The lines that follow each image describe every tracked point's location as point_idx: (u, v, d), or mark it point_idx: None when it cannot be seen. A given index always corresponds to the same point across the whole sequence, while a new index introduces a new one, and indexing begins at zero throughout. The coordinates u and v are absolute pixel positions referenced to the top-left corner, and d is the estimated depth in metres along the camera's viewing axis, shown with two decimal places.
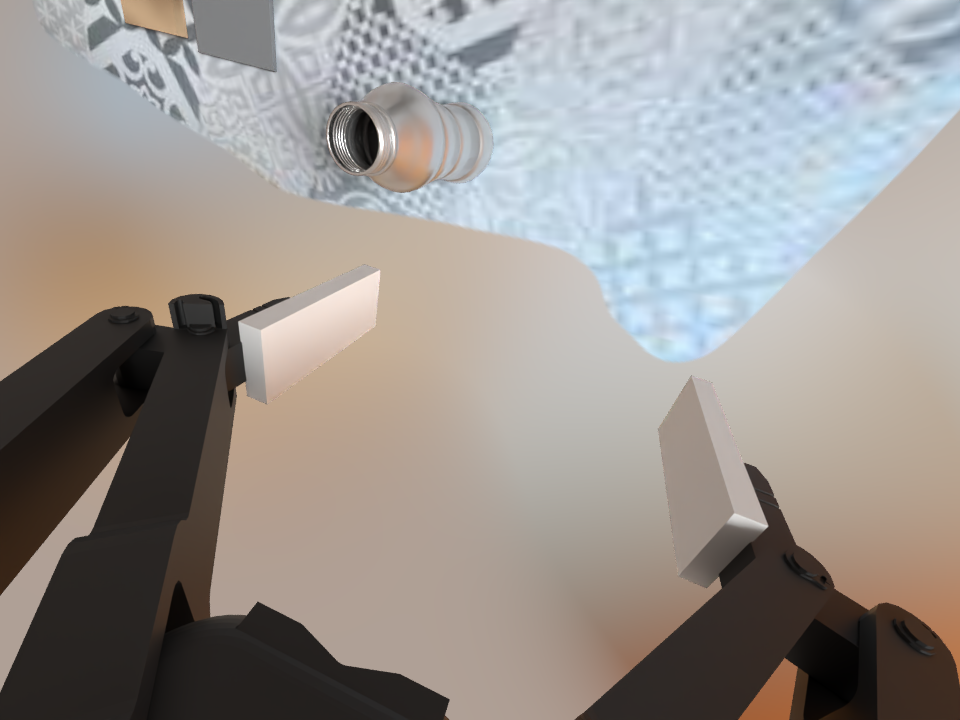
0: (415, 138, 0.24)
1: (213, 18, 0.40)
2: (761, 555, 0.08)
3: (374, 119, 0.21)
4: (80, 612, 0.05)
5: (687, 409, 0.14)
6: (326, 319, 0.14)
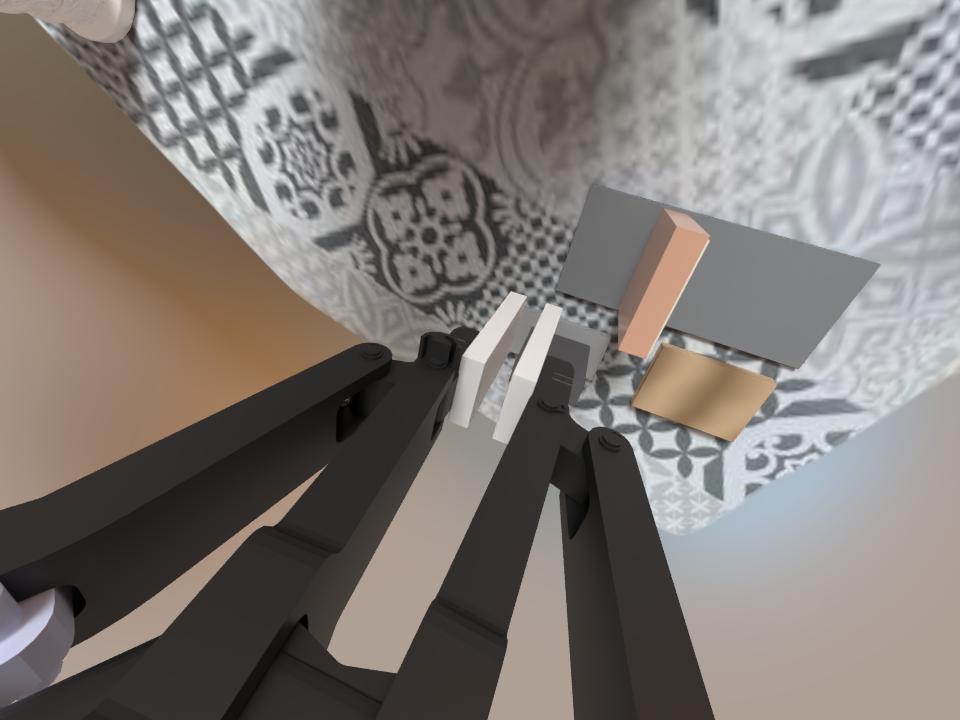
0: None
1: (777, 331, 0.33)
2: (524, 410, 0.11)
3: None
4: (225, 608, 0.05)
5: None
6: (501, 347, 0.15)
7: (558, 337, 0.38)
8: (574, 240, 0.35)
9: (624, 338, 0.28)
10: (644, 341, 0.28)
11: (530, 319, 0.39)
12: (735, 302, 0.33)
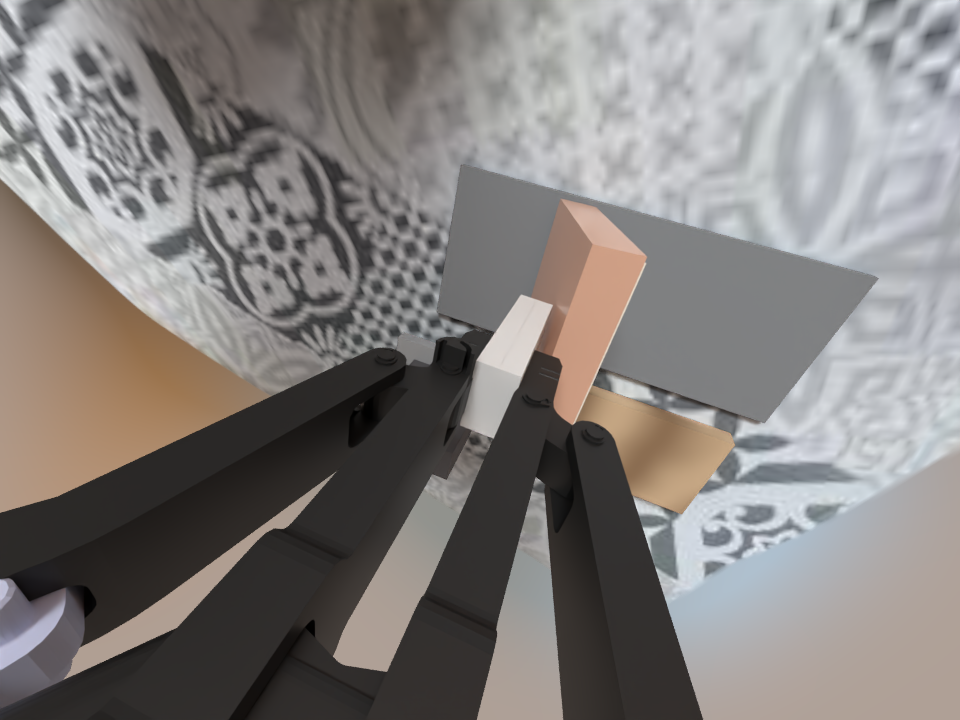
0: None
1: (732, 372, 0.23)
2: (509, 404, 0.11)
3: None
4: (233, 610, 0.05)
5: None
6: None
7: None
8: (450, 245, 0.25)
9: None
10: None
11: (410, 351, 0.29)
12: (671, 331, 0.23)
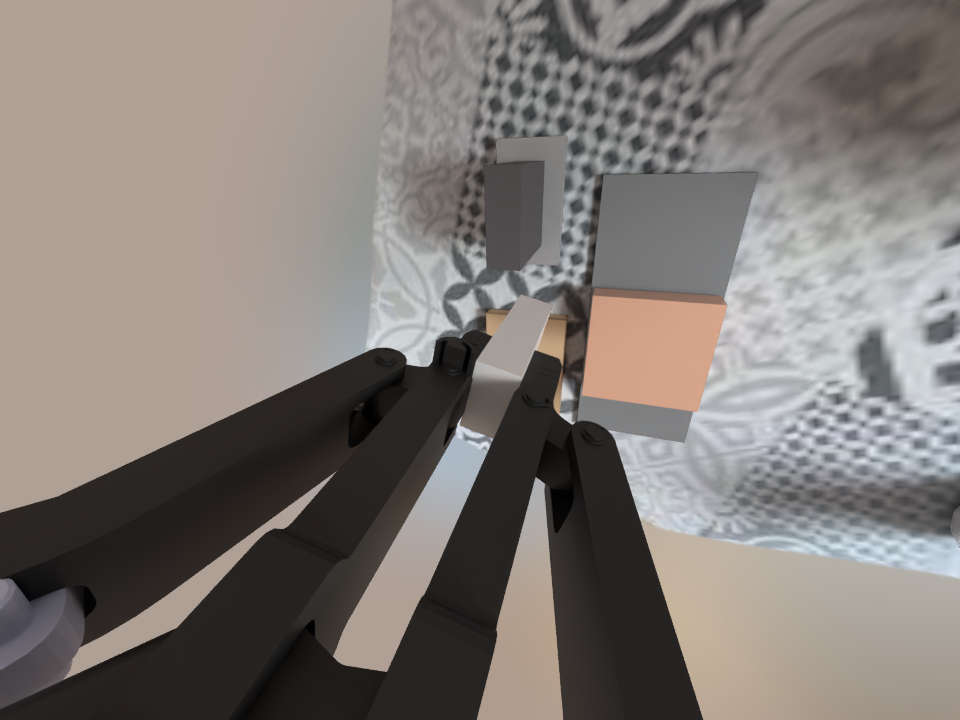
0: None
1: (608, 401, 0.36)
2: (509, 404, 0.11)
3: None
4: (233, 611, 0.05)
5: None
6: None
7: (541, 202, 0.29)
8: (678, 176, 0.26)
9: (593, 396, 0.34)
10: None
11: (553, 154, 0.28)
12: None
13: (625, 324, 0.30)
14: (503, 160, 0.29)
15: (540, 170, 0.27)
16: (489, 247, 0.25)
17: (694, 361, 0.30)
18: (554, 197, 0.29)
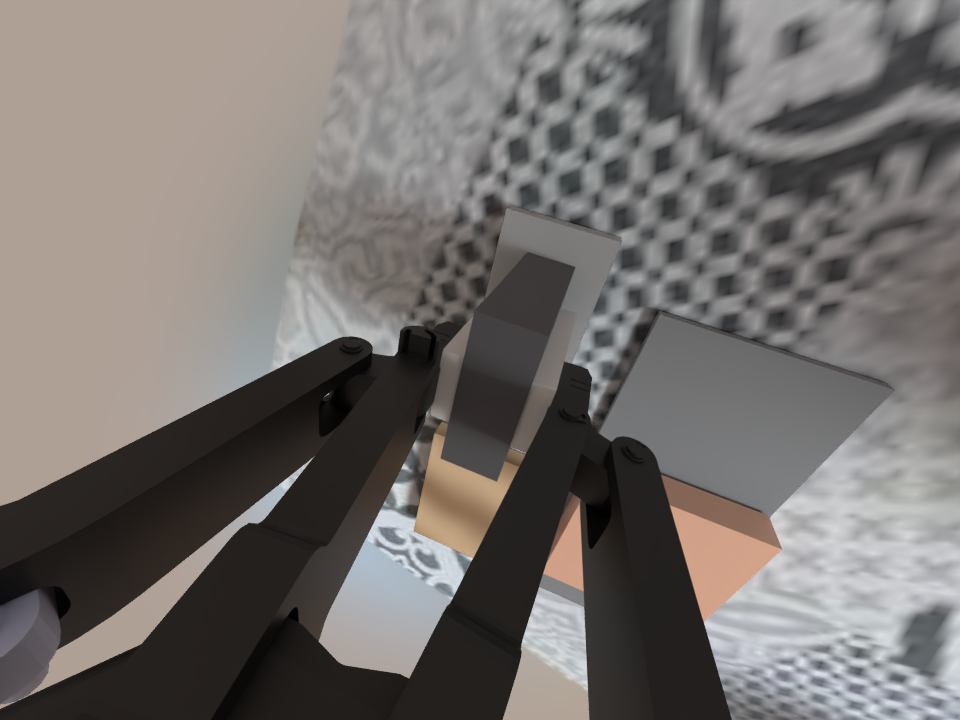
0: None
1: None
2: (545, 418, 0.11)
3: None
4: (214, 604, 0.05)
5: None
6: None
7: None
8: (772, 354, 0.17)
9: (556, 578, 0.24)
10: None
11: (591, 262, 0.17)
12: None
13: None
14: (509, 244, 0.17)
15: None
16: (452, 433, 0.13)
17: (707, 589, 0.21)
18: (574, 322, 0.18)
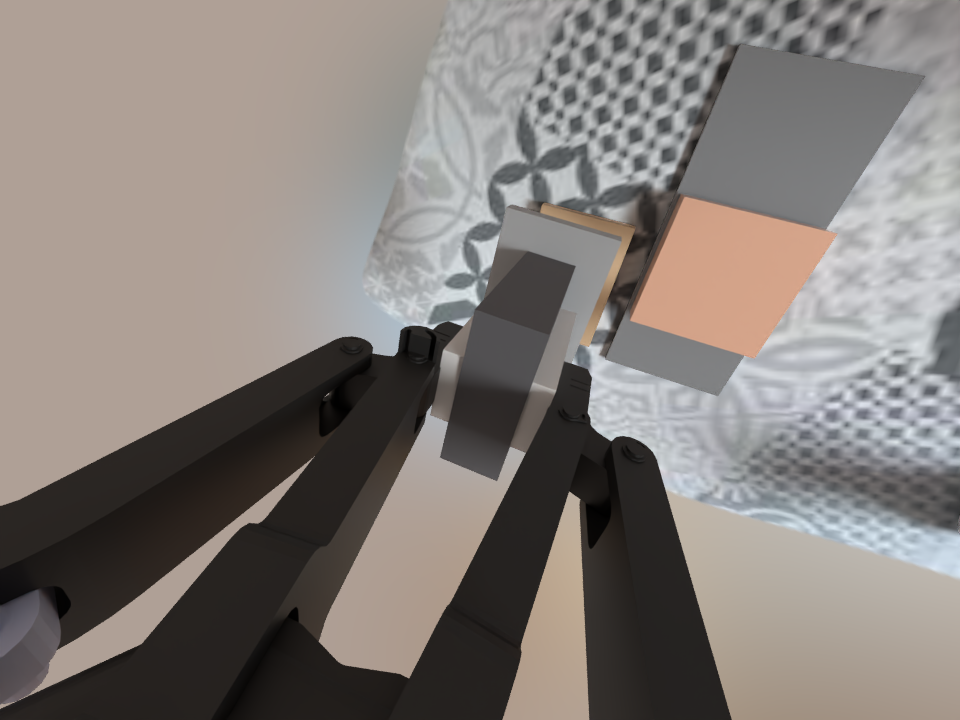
0: None
1: (649, 336, 0.32)
2: (545, 418, 0.11)
3: None
4: (214, 604, 0.05)
5: None
6: None
7: None
8: (829, 63, 0.22)
9: (643, 324, 0.30)
10: None
11: (592, 261, 0.17)
12: None
13: (710, 240, 0.26)
14: (509, 243, 0.17)
15: None
16: (451, 432, 0.13)
17: (773, 297, 0.26)
18: (574, 322, 0.18)
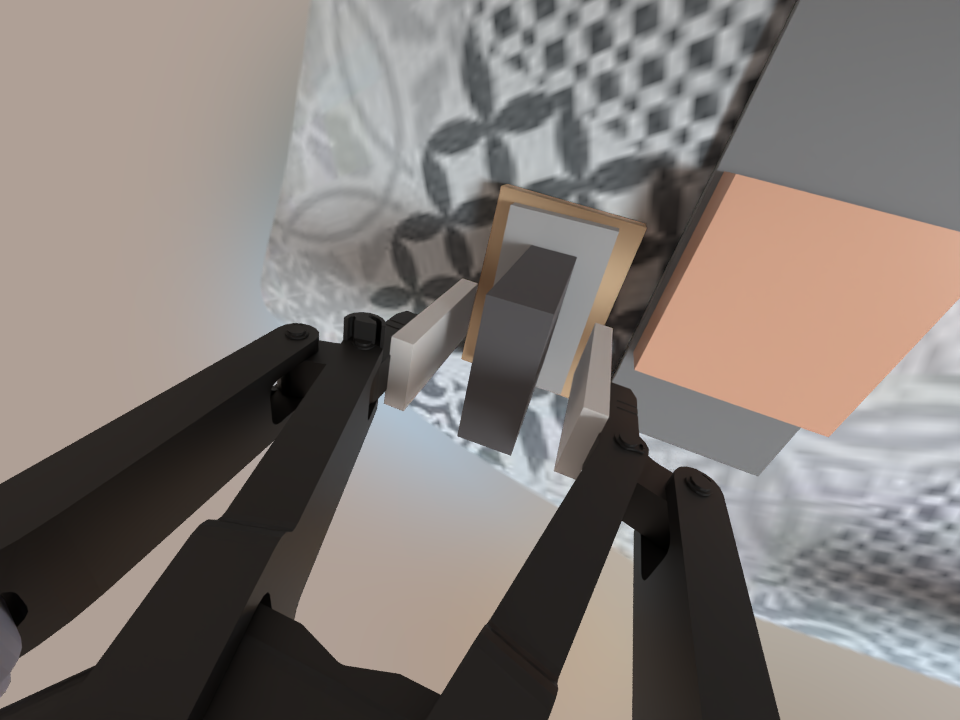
0: None
1: (661, 388, 0.22)
2: (599, 443, 0.10)
3: None
4: (182, 599, 0.05)
5: (587, 349, 0.16)
6: (444, 332, 0.15)
7: (558, 314, 0.19)
8: None
9: (654, 375, 0.19)
10: None
11: (592, 252, 0.18)
12: None
13: (775, 249, 0.15)
14: (514, 238, 0.19)
15: (569, 278, 0.17)
16: (467, 411, 0.15)
17: (873, 347, 0.16)
18: (578, 310, 0.19)
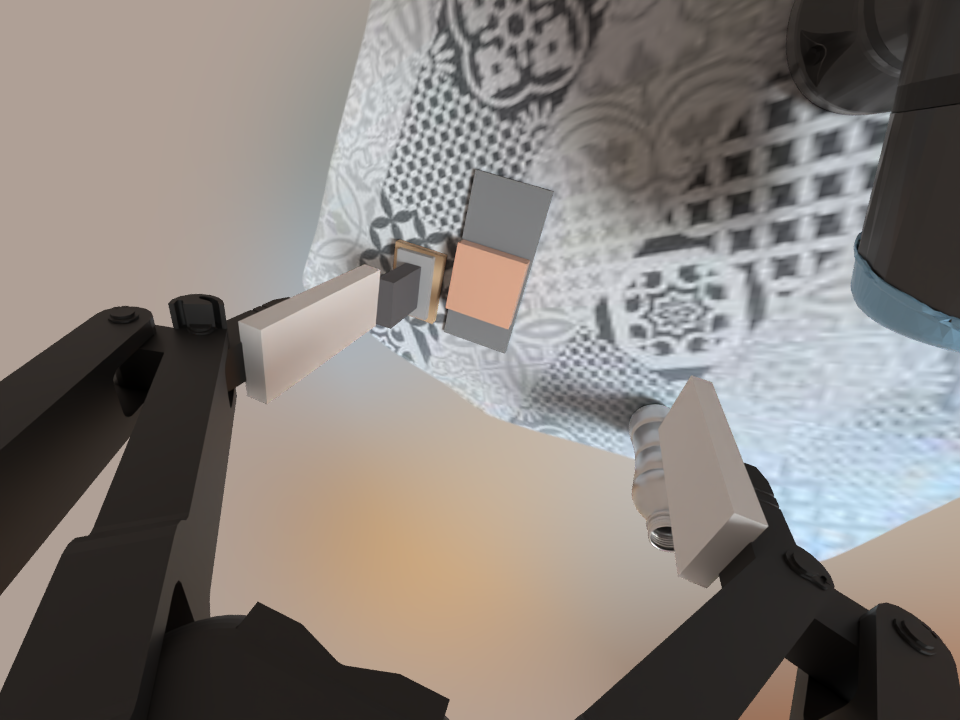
0: None
1: (464, 317, 0.55)
2: (761, 555, 0.08)
3: None
4: (81, 612, 0.05)
5: (687, 409, 0.14)
6: (326, 319, 0.14)
7: (417, 287, 0.53)
8: (514, 182, 0.45)
9: (452, 309, 0.53)
10: None
11: (425, 265, 0.52)
12: None
13: (474, 265, 0.49)
14: (400, 260, 0.52)
15: (415, 274, 0.51)
16: None
17: (508, 296, 0.49)
18: (425, 286, 0.53)
